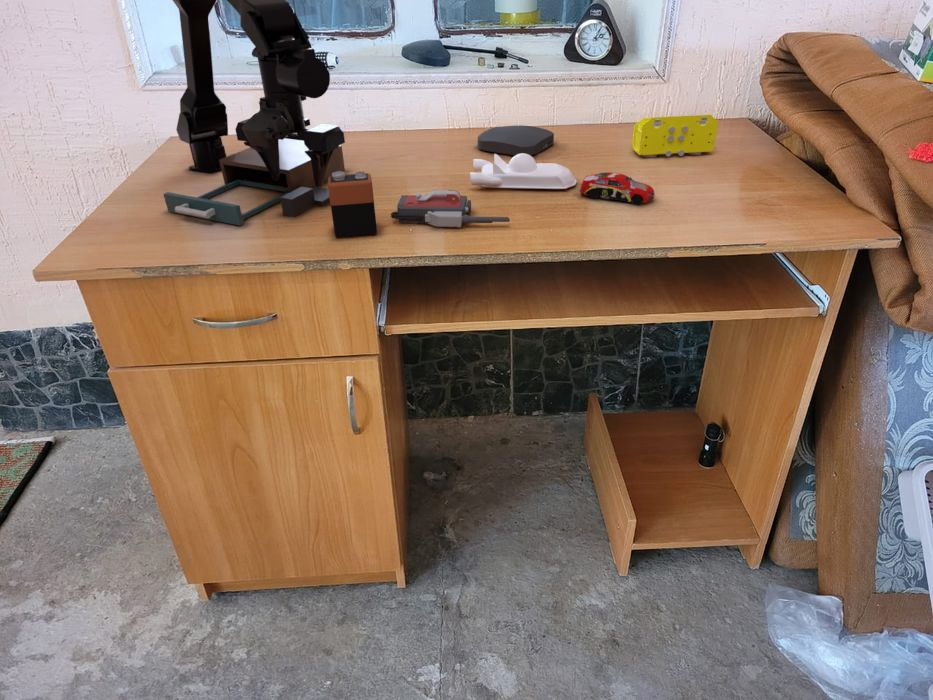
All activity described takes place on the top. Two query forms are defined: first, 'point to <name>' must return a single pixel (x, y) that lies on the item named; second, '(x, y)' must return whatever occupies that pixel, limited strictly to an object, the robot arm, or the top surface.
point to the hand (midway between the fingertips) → (297, 183)
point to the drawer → (219, 204)
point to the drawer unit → (290, 161)
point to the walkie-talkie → (439, 209)
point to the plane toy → (521, 174)
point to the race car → (616, 188)
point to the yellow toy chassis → (674, 135)
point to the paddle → (303, 200)
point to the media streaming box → (515, 139)
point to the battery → (352, 204)
